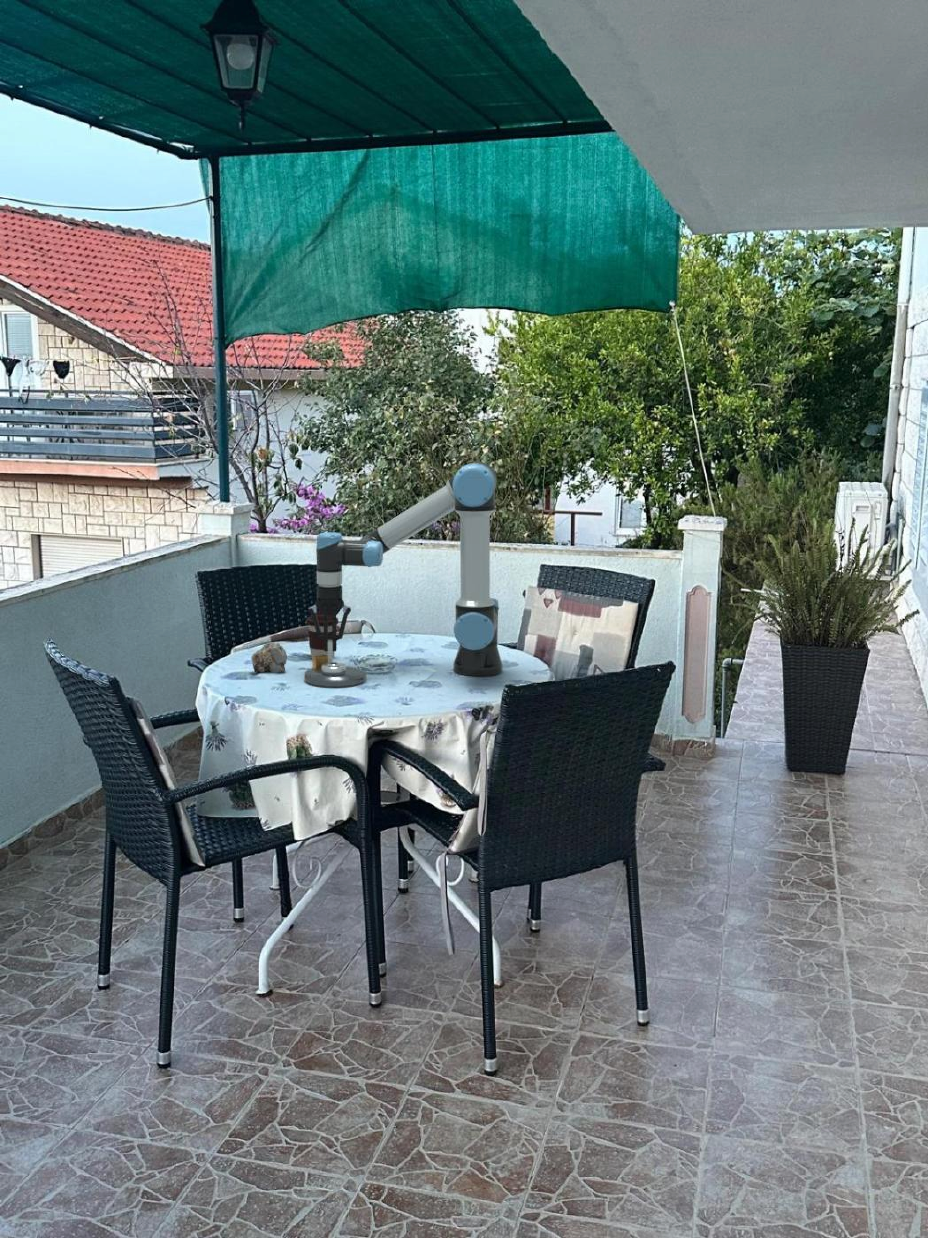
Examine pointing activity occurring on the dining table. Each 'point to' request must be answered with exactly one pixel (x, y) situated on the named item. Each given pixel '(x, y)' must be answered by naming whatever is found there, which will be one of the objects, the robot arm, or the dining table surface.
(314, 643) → the coffee cup
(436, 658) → the dining table surface
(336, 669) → the cover
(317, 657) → the turntable
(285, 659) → the rock
